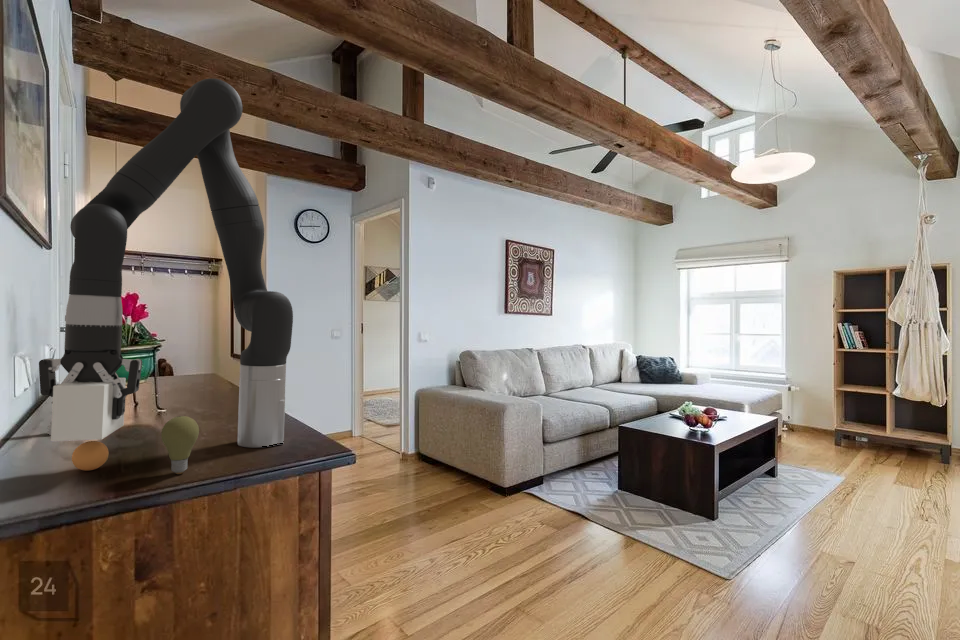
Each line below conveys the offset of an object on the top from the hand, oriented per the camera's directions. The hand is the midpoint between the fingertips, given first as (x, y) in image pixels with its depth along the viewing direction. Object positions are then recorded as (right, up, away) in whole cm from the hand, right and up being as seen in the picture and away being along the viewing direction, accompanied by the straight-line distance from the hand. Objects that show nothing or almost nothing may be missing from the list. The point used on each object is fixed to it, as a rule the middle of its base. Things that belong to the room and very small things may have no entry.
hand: (90, 419), depth 81 cm
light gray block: (0, -2, 0) cm, 2 cm away
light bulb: (+14, -10, +2) cm, 17 cm away
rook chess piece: (-27, -9, +25) cm, 38 cm away
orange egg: (-2, -7, +2) cm, 7 cm away
